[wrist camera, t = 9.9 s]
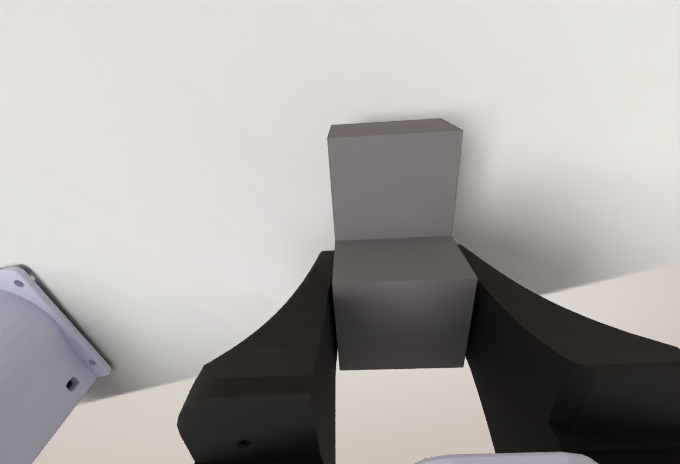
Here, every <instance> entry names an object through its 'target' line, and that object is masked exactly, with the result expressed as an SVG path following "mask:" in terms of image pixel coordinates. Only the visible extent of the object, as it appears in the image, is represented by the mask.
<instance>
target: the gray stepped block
mask: <svg viewBox="0 0 680 464" xmlns="http://www.w3.org/2000/svg"><path fill="white" fill-rule="evenodd" d="M462 134H463V130H461V129H460V128H458V127H456V126H454V125H452V124H450V123H448V122H447V121H445V120H443V119H441V118H440V119H424V120H407V121H391V122H374V123H358V124H341V125H331V127H330V131H329V134H328V138H327V141H328V154H329V167H330V180H331V193H332V205H333V218H334V231H335V251H334V264H333V278H332V288H333V300H334V311H335V322H336V333H337V344H338V355H339V367H340V370H371V369H373V370H375V369H415V368H456V367H457V368H458V367H463V366H464V360H465V354H466V347H467V341H468V335H469V329H470V323H471V316H472V310H473V304H474V298H475V292H476V286H477V279H478V278H477V276H476V275H475V273H474V271H473V270H472V268H471V267H470V265H469V263H468V262H467V260H466V258H465V257H464V255H463V254H462V252H461V250H460V249H459V247H458V245H457V244H456V242H455V241H454V239H453V237H452V236H451V235H452V226H453V217H454V208H455V199H456V189H457V180H458V171H459V162H460V153H461V143H462Z"/></svg>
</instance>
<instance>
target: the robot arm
mask: <svg viewBox="0 0 680 464" xmlns="http://www.w3.org/2000/svg"><path fill="white" fill-rule="evenodd" d="M457 245H458V247H459V249H460V250H461V252H462V254H463V255H464V257H465V258H466V260H467V262H468V263H469V265H470V267H471V268H472V270H473V271H474V273H475V275H476V276H477V278H478V279H477V286H476V292H475V298H474V304H473V310H472V316H471V323H470V329H469V335H468V341H467V347H466V354H465V357H466V359H467V361H468V364H469V366H470V369H471V372H472V375H473V378H474V381H475V384H476V387H477V390H478V394H479V397H480V400H481V403H482V407H483V410H484V414H485V417H486V421H487V424H488V428H489V431H490V435H491V438H492V442H493V446H494V449H495V453H494V454H456V455H443V456H437V457H431V458H425V459H423V460H421V461H419V462H417V463H415V464H680V349H679V348H677V347H675V346H671V345H668V344H665V343H661V342H658V341H655V340H651V339H647V338H645V337H641V336H638V335H635V334H631V333H628V332H625V331H622V330H619V329H617V328H614V327H611V326H608V325H605V324H603V323H600V322H597V321H595V320H592V319H590V318H587V317H585V316H582V315H580V314H578V313H575V312H573V311H571V310H568V309H566V308H563V307H561V306H559V305H557V304H555V303H553V302H550V301H549V300H547V299H545V298H543V297H541V296H539V295H537V294H535V293H533V292H532V291H530V290H528V289H526V288H524V287H523V286H521V285H519V284H518V283H516V282H514V281H513V280H511V279H509V278H508V277H506V276H505V275H503V274H502V273H500V272H499V271H497V270H496V269H494V268H493V267H491V266H490V265H489V264H487V263H486V262H484V261H483V260H481V259H480V258H479V257H477V256H476V255H474V254H473V253H472V252H470V251H469V250H467V249H466V248H465V247H463V246H461V245H460V244H457ZM333 264H334V251H322V252H321V253H320V254H319V256H318V258H317V260H316V262H315V263H314V265H313V267H312V268H311V270H310V272H309V273H308V275H307V276H306V278H305V279H304V281H303V282H302V283H301V285H300V286H299V287H298V289H297V290H296V291H295V293H294V294H293V295H292V296H291V298H290V299H289V300H288V301H287V302H286V303H285V304H284V306H283V307H282V308H281V309H280V310H279V311H278V312H277V313H276V314H275V315H274V316H273V317H272V318H271V319H270V320H268V321H267V322H266V323H265V324H264V325H263V326H262V327H261V328H259V329H258V330H257V331H256V332H254V333H253V334H252V335H250V336H249V337H248V338H246V339H245V340H244V341H242V342H241V343H239V344H238V345H237V346H235V347H234V348H232V349H231V350H229V351H227V352H226V353H224V354H222V355H221V356H219V357H218V358H216V359H214V360H213V361H211V362H209V363H207V364H206V365H204V366H203V368H202V370H201V372H200V374H199V375H198V377H197V378H196V380H195V382H194V384H193V386H192V388H191V390H190V392H189V394H188V397H187V399H186V401H185V403H184V405H183V408H182V410H181V412H180V414H179V417H178V422H177V427H178V430H179V433H180V435H181V437H182V439H183V441H184V443H185V444H186V446H187V448H188V450H189V452H190V454H191V455H192V457H193V459H194V461H195V463H194V464H335V375H336V361H337V351H338V344H337V333H336V322H335V311H334V300H333V288H332V278H333ZM110 371H111V367H110V366H109V364H108V363H107V362H106V361H105V360H104V359H103V358H102V357H101V356H100V354H99V353H98V352H97V351H96V350H95V349H94V348H93V347H92V345H91V344H90V343H89V342H88V341H87V340H86V339H85V338H84V336H83V335H82V334H81V333H80V332H79V331H78V330H77V329H76V327H75V326H74V325H73V324H72V323H71V322H70V321H69V320H68V318H67V317H66V316H65V315H64V314H63V313H62V312H61V311H60V309H59V308H58V307H57V306H56V305H55V304H54V303H53V302H52V300H51V299H50V298H49V297H48V296H47V295H46V294H45V293H44V291H43V290H42V289H41V288H40V287H39V286H38V285H37V284H36V282H35V281H34V280H33V279H32V278H31V277H30V276H29V275H28V273H27V272H26V271H25V270H23V269H22V268H20V267H16V266H12V267H8V268H3V269H0V464H32V463H33V461H34V460H35V459H36V458H37V456H38V455H39V454H40V452H41V451H42V450H43V448H44V447H45V446H46V444H47V443H48V442H49V441H50V439H51V438H52V437H53V435H54V434H55V433H56V431H57V430H58V429H59V427H60V426H61V425H62V423H63V422H64V421H65V420H66V418H67V417H68V416H69V414H70V413H71V412H72V410H73V409H74V408H75V406H76V405H77V404H78V402H79V401H80V400H81V399H82V397H83V396H84V395H85V393H86V392H87V391H88V389H89V388H90V387H91V385H92V384H93V383H94V382H95V380H96V379H97V377H103V376H107V375H108V374H109V373H110Z"/></svg>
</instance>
